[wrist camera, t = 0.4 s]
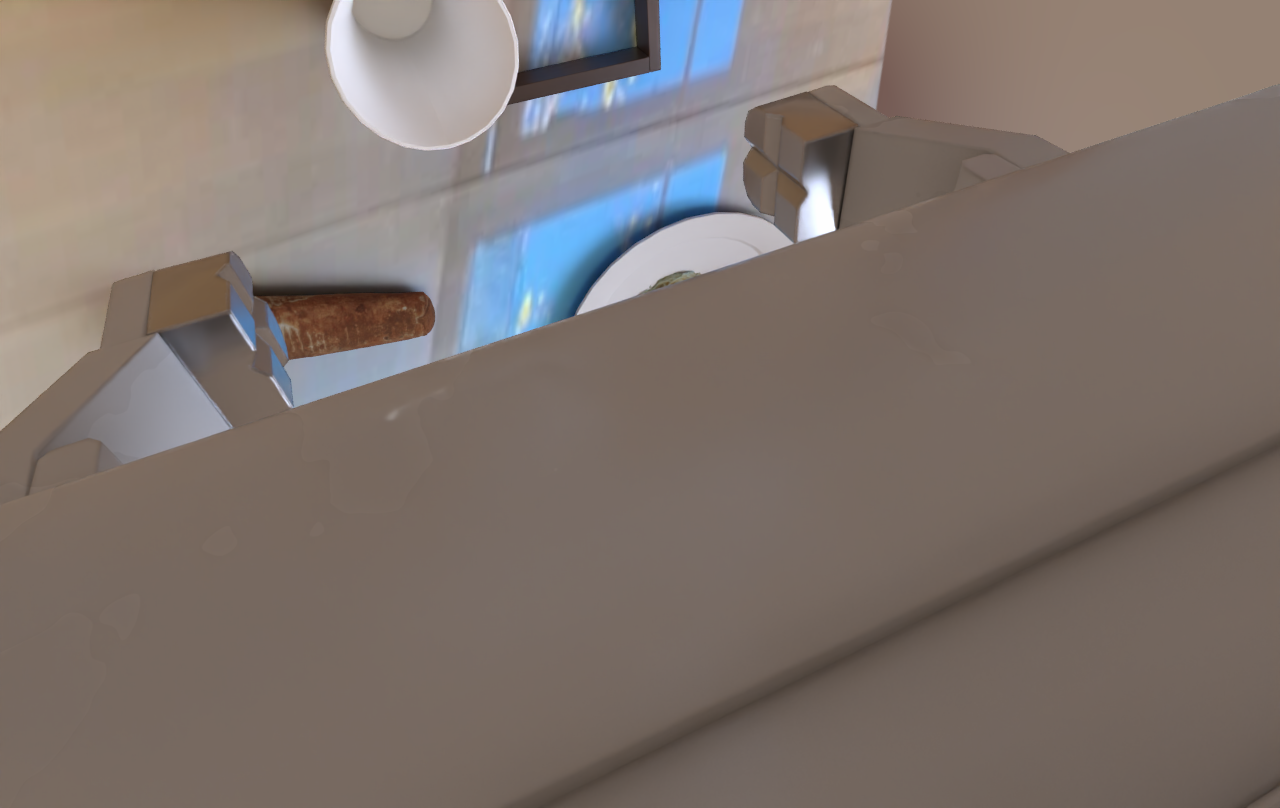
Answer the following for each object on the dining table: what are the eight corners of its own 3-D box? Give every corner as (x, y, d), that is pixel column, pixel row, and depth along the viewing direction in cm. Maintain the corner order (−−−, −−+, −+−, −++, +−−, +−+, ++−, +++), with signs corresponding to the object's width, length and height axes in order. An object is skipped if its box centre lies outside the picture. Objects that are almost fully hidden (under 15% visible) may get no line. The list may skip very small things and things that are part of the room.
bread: (182, 283, 55) (180, 324, 51) (431, 277, 63) (445, 312, 60) (196, 347, 59) (195, 390, 55) (429, 334, 67) (441, 370, 63)
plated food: (507, 385, 75) (515, 406, 73) (678, 151, 65) (694, 167, 63) (687, 443, 96) (698, 460, 94) (840, 271, 85) (857, 287, 83)
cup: (445, -113, 45) (501, -67, 36) (479, 58, 52) (532, 130, 44) (274, -90, 42) (291, -35, 34) (336, 86, 50) (362, 168, 41)
